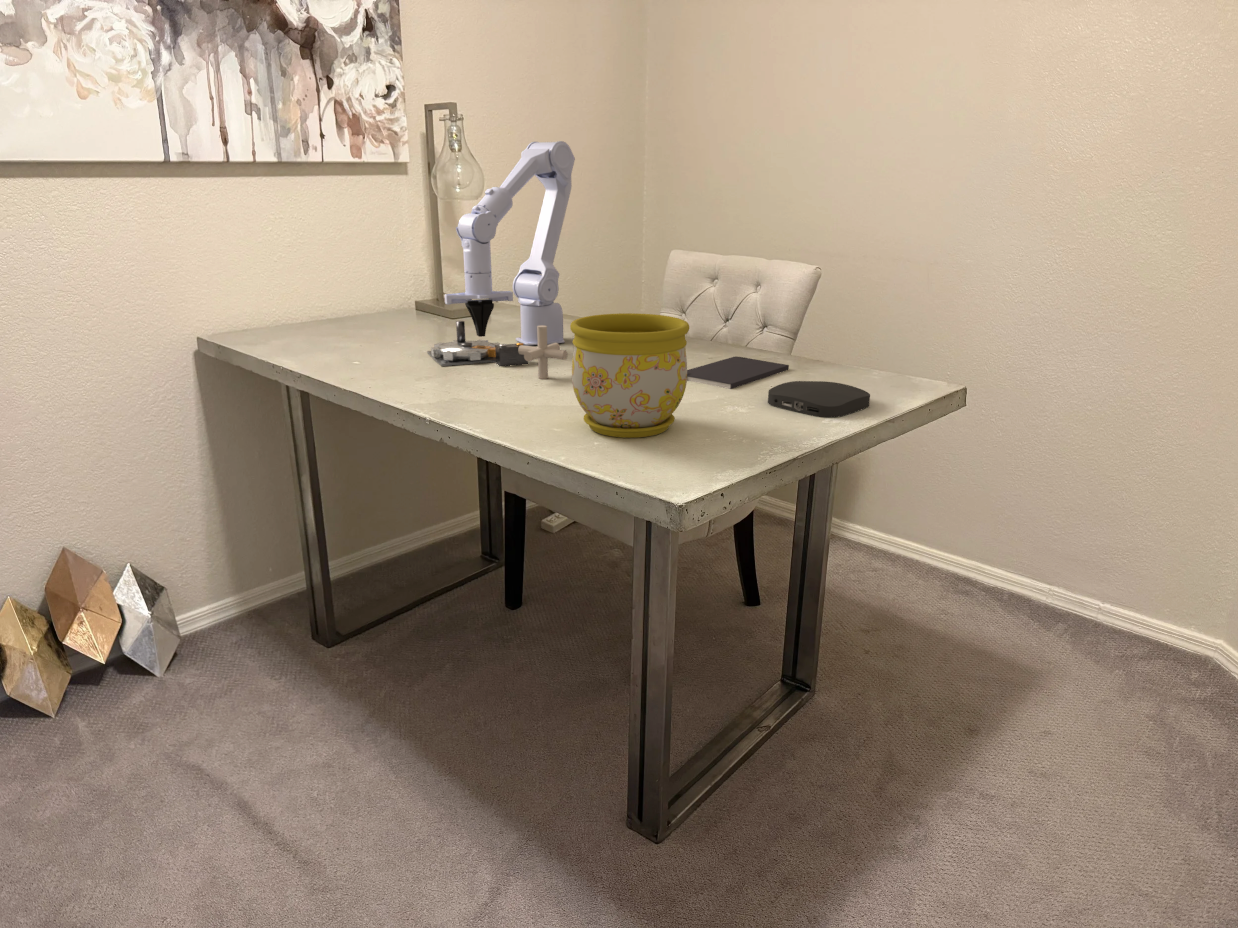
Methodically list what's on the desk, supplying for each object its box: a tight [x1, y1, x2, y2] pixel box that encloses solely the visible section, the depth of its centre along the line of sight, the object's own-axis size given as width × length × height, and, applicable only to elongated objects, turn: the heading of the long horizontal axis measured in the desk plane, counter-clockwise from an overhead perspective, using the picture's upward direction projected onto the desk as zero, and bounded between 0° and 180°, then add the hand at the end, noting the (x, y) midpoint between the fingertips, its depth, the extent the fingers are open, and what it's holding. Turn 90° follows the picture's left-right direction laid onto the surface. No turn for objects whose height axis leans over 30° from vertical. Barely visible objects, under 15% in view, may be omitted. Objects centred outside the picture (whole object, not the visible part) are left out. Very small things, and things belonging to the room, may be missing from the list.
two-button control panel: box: [495, 342, 529, 367], centre depth 175 cm, size 6×3×4 cm, turn 113°
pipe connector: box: [518, 325, 568, 380], centre depth 162 cm, size 10×10×10 cm
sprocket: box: [430, 320, 501, 361], centre depth 180 cm, size 15×15×6 cm
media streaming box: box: [767, 380, 871, 418], centre depth 147 cm, size 15×15×3 cm
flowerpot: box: [569, 312, 690, 439], centre depth 131 cm, size 18×18×16 cm
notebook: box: [687, 356, 790, 390], centre depth 168 cm, size 13×2×21 cm
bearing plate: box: [426, 350, 496, 367], centre depth 181 cm, size 14×14×1 cm
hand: (480, 335), depth 185 cm, fingers closed
